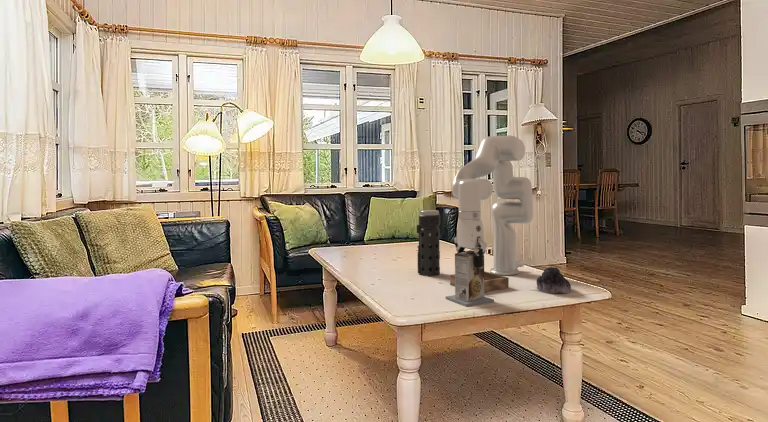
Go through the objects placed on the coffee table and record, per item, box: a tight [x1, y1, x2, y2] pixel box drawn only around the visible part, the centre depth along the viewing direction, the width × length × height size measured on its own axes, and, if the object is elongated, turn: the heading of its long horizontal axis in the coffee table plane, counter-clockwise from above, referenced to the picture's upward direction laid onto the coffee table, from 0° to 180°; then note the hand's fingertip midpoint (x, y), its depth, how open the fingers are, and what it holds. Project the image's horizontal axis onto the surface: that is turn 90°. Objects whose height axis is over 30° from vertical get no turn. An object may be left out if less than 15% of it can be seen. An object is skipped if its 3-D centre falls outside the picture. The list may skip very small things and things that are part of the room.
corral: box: [449, 270, 510, 293], centre depth 198 cm, size 16×16×4 cm
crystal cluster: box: [536, 266, 572, 294], centre depth 190 cm, size 13×14×10 cm
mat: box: [445, 294, 495, 307], centre depth 177 cm, size 12×12×1 cm
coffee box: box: [454, 249, 485, 302], centre depth 177 cm, size 9×6×16 cm
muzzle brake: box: [416, 209, 441, 277], centre depth 222 cm, size 10×28×10 cm
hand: (469, 264), depth 177 cm, fingers open, 9 cm apart
